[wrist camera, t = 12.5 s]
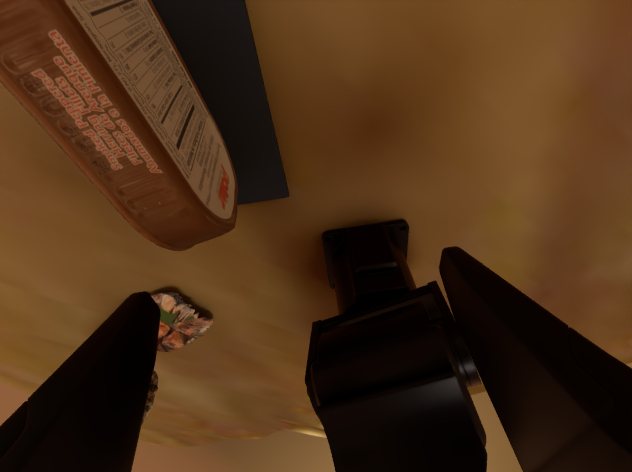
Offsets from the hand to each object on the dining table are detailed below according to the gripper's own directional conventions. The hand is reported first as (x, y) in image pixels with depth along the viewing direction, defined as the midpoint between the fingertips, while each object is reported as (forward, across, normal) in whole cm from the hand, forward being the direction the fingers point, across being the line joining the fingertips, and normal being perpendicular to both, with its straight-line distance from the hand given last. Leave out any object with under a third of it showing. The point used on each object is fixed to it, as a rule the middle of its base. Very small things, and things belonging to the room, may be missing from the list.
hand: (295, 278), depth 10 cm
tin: (+12, +6, -4) cm, 14 cm away
